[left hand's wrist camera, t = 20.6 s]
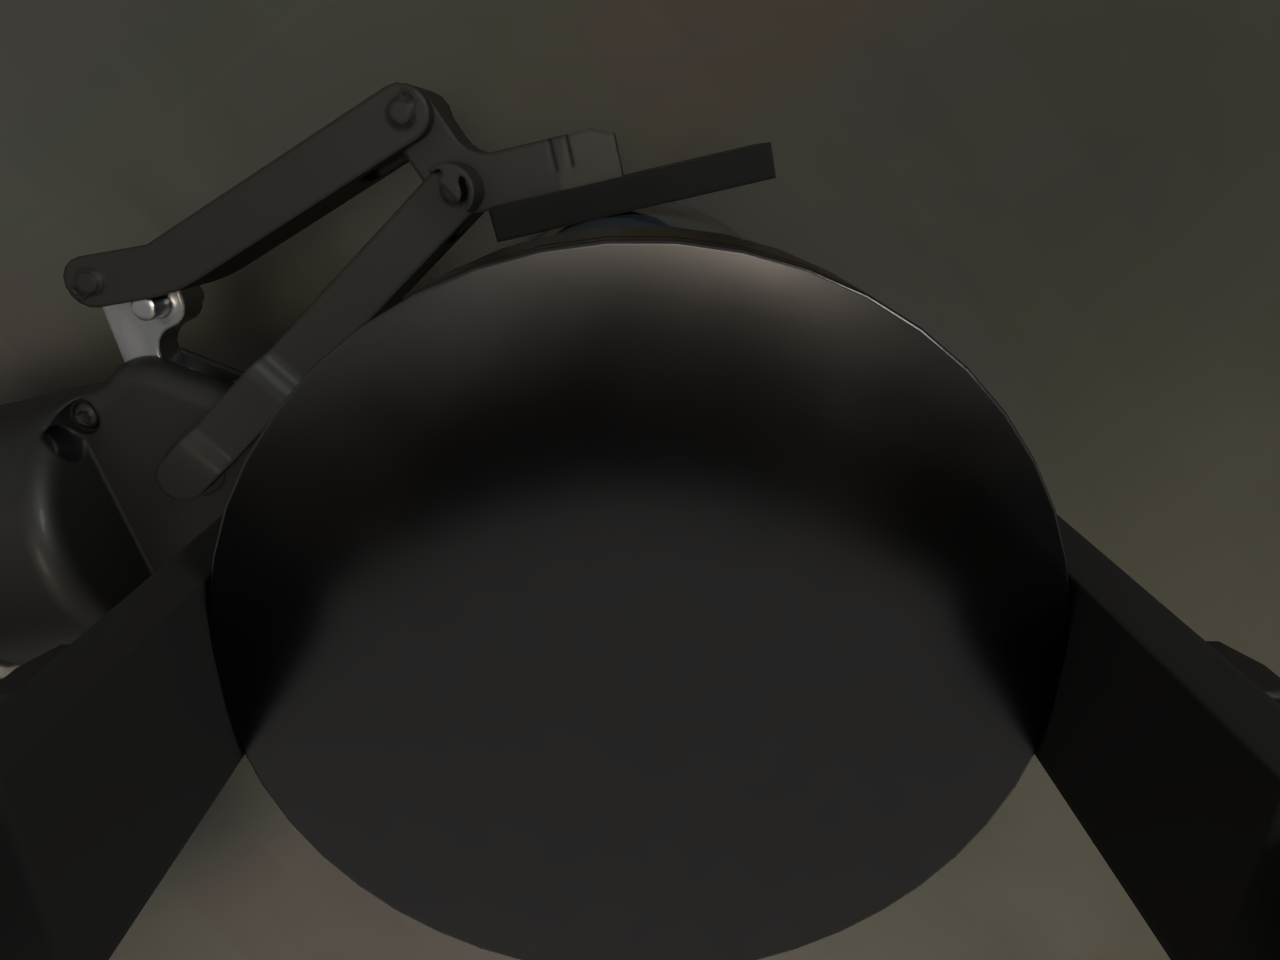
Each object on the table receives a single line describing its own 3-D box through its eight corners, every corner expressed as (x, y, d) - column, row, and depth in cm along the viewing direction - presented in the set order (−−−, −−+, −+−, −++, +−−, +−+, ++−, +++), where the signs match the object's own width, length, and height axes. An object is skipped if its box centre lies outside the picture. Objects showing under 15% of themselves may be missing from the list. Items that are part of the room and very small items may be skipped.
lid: (429, 58, 9) (381, 35, 8) (1164, 450, 11) (1263, 505, 9) (188, 734, 13) (117, 826, 11) (772, 947, 15) (790, 1055, 13)
